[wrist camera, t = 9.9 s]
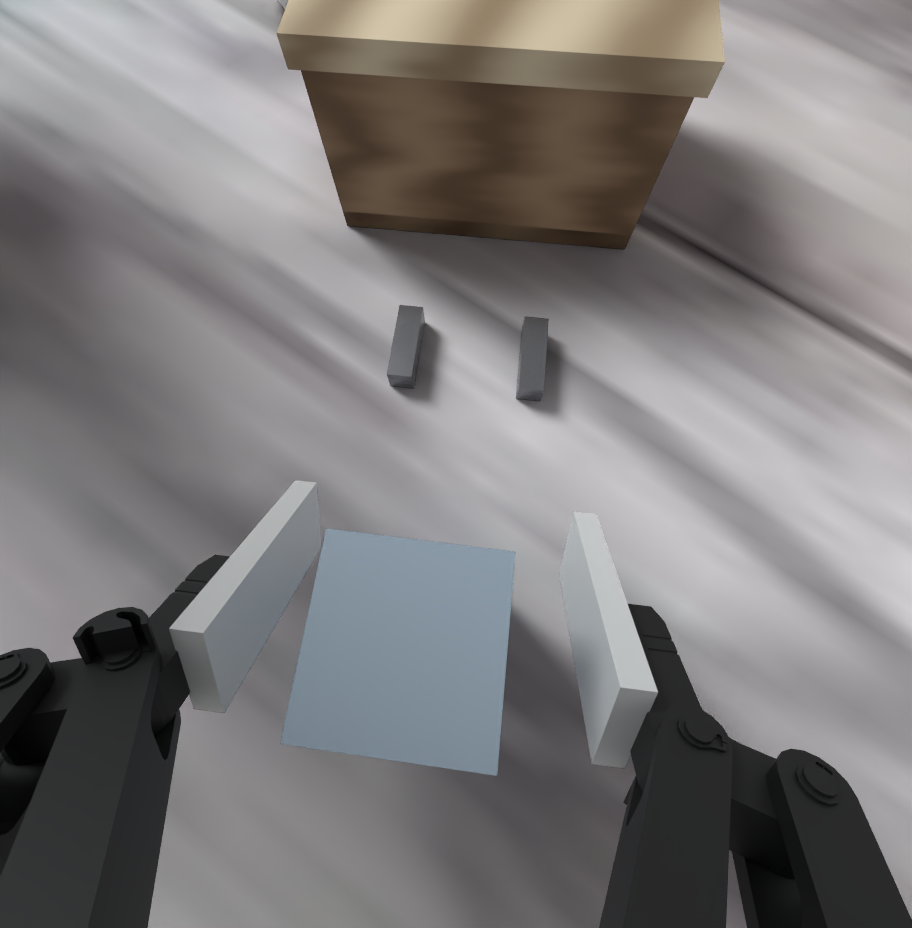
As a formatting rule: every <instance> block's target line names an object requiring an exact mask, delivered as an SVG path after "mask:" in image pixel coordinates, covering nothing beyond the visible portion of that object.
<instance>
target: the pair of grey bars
mask: <svg viewBox="0 0 912 928" xmlns="http://www.w3.org/2000/svg"><path fill="white" fill-rule="evenodd" d="M548 321H549V319H544V318H534V317H525V318H524V323H523V327H522V333H521V345H520V357H519V369H518V381H517V392H516V399H524V400H534V401H540V399H541V397H542V394H543V392H544V384H545V368H546V352H547V336H548ZM424 323H425V320H424V312H423V307H415V306H404V305H400V306H399V312H398V317H397V322H396V328H395V333H394V339H393V344H392V349H391V355H390V360H389V366H388V371H387V376H388V379H389V382H390V385H391V386H396V387H406V388H414V385H415V378H416V372H417V366H418V360H419V354H420V348H421V342H422V336H423V329H424Z"/></svg>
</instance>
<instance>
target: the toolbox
mask: <svg viewBox="0 0 912 928" xmlns="http://www.w3.org/2000/svg"><path fill="white" fill-rule="evenodd" d="M301 72H302V76H303V79H304V82H305V86H306V89H307V92H308V96H309V99H310V102H311V106H312V109H313V112H314V116H315V119H316V122H317V126H318V129H319V132H320V136H321V139H322V143H323V146H324V149H325V153H326V156H327V159H328V163H329V166H330V169H331V173H332V176H333V179H334V183H335V186H336V189H337V193H338V196H339V199H340V203H341V206H342V209H343V213H344V216H345V219H346V223H347V226H357V227H368V228H380V229H392V230H404V231H416V232H427V233H439V234H451V235H463V236H475V237H486V238H498V239H510V240H522V241H534V242H545V243H557V244H569V245H581V246H593V247H604V248H616V249H625V247H626V245H627V243H628V241H629V239H630V236H631V234H632V232H633V230H634V228H635V226H636V223H637V221H638V219H639V217H640V215H641V212H642V210H643V208H644V206H645V204H646V202H647V199H648V197H649V195H650V193H651V191H652V188H653V186H654V184H655V182H656V180H657V177H658V175H659V173H660V171H661V169H662V167H663V164H664V162H665V160H666V158H667V156H668V153H669V151H670V149H671V147H672V145H673V143H674V140H675V138H676V136H677V134H678V132H679V129H680V127H681V125H682V123H683V121H684V119H685V116H686V114H687V112H688V110H689V108H690V105H691V103H692V101H693V99H694V97H685V96H671V95H656V94H642V93H627V92H612V91H598V90H583V89H569V88H554V87H539V86H525V85H510V84H495V83H481V82H466V81H452V80H437V79H422V78H408V77H393V76H379V75H364V74H349V73H335V72H320V71H306V70H301Z"/></svg>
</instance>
